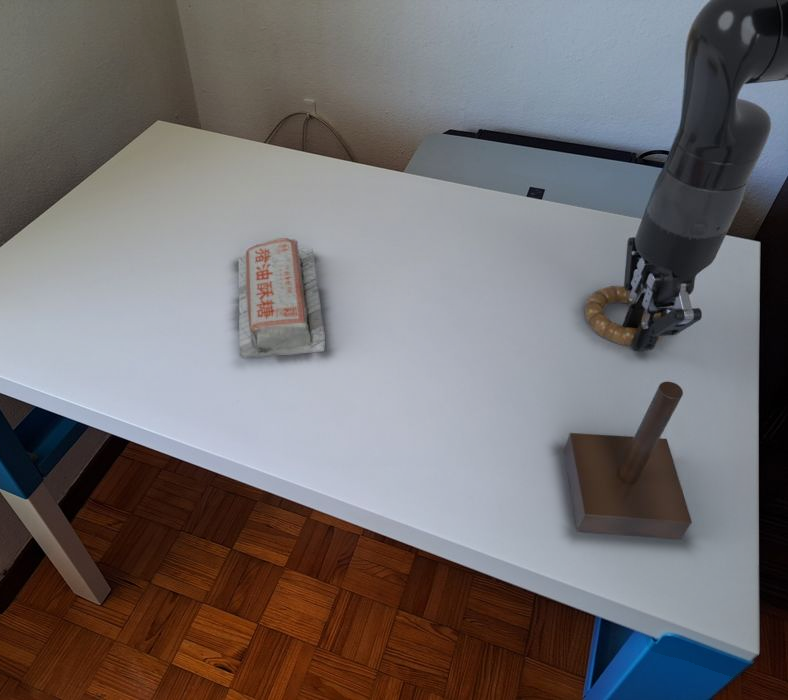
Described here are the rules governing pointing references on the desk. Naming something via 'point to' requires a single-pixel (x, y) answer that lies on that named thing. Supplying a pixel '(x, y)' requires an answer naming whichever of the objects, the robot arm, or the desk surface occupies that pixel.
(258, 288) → the packaged product
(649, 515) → the peg stand
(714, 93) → the robot arm
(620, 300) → the segmented donut ring
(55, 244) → the desk surface
